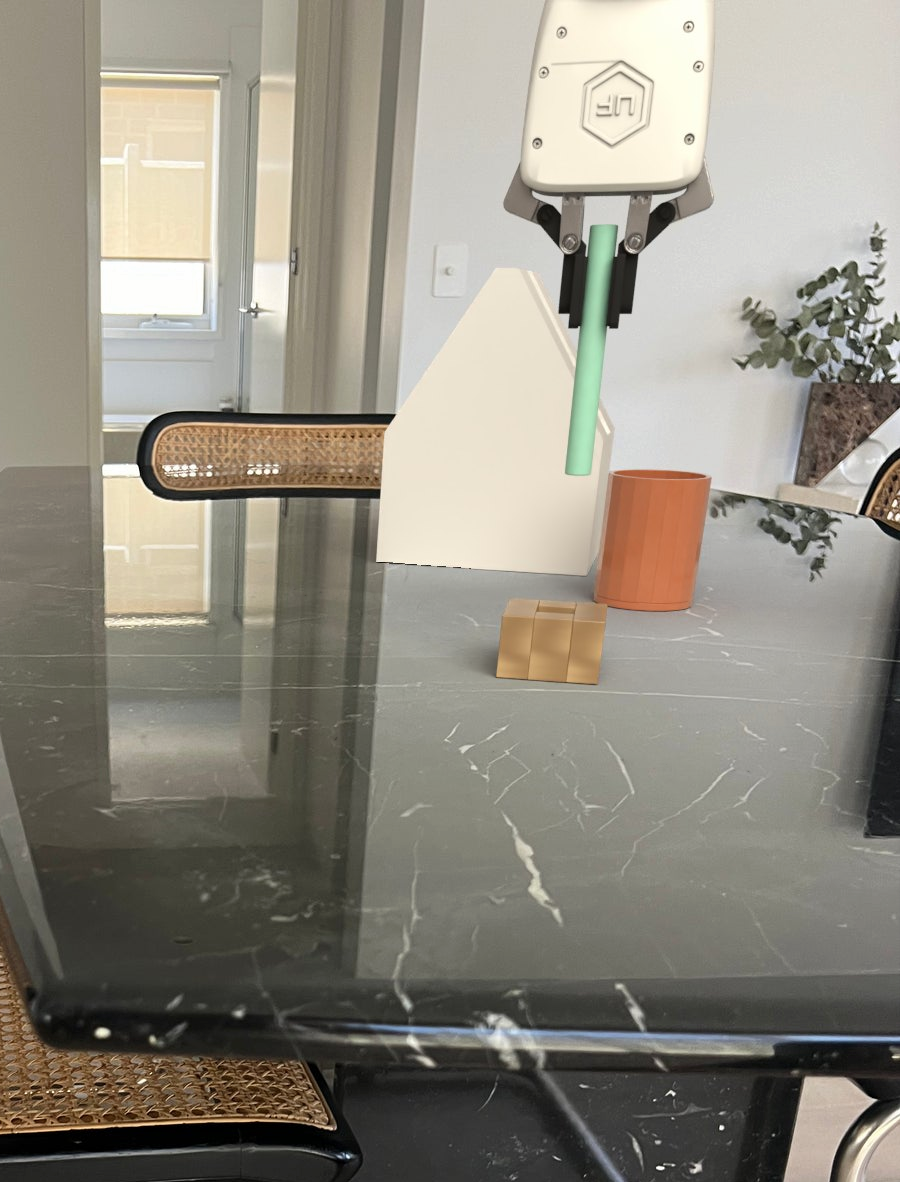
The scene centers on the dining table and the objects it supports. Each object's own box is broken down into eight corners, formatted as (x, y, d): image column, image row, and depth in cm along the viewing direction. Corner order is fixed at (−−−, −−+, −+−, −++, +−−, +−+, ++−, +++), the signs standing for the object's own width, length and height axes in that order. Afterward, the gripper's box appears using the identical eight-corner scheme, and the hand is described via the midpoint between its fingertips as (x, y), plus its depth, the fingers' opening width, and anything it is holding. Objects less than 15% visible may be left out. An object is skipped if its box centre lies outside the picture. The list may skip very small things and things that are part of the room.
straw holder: (599, 663, 99) (607, 603, 97) (597, 684, 93) (605, 621, 92) (503, 657, 100) (509, 598, 99) (495, 677, 95) (502, 615, 93)
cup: (690, 596, 122) (709, 471, 118) (693, 613, 116) (713, 481, 111) (594, 591, 124) (609, 467, 120) (591, 607, 117) (608, 477, 113)
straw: (591, 473, 92) (618, 225, 87) (590, 476, 91) (618, 224, 85) (565, 472, 93) (590, 226, 87) (564, 475, 91) (589, 224, 86)
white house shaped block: (376, 562, 137) (395, 267, 127) (406, 540, 150) (426, 271, 140) (586, 575, 131) (624, 268, 121) (599, 551, 145) (634, 272, 135)
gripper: (482, -41, 79) (455, 328, 87) (789, -59, 76) (734, 329, 83) (494, -14, 86) (468, 327, 94) (777, -29, 82) (726, 328, 90)
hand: (593, 326), depth 88 cm, fingers closed on straw, 1 cm apart
